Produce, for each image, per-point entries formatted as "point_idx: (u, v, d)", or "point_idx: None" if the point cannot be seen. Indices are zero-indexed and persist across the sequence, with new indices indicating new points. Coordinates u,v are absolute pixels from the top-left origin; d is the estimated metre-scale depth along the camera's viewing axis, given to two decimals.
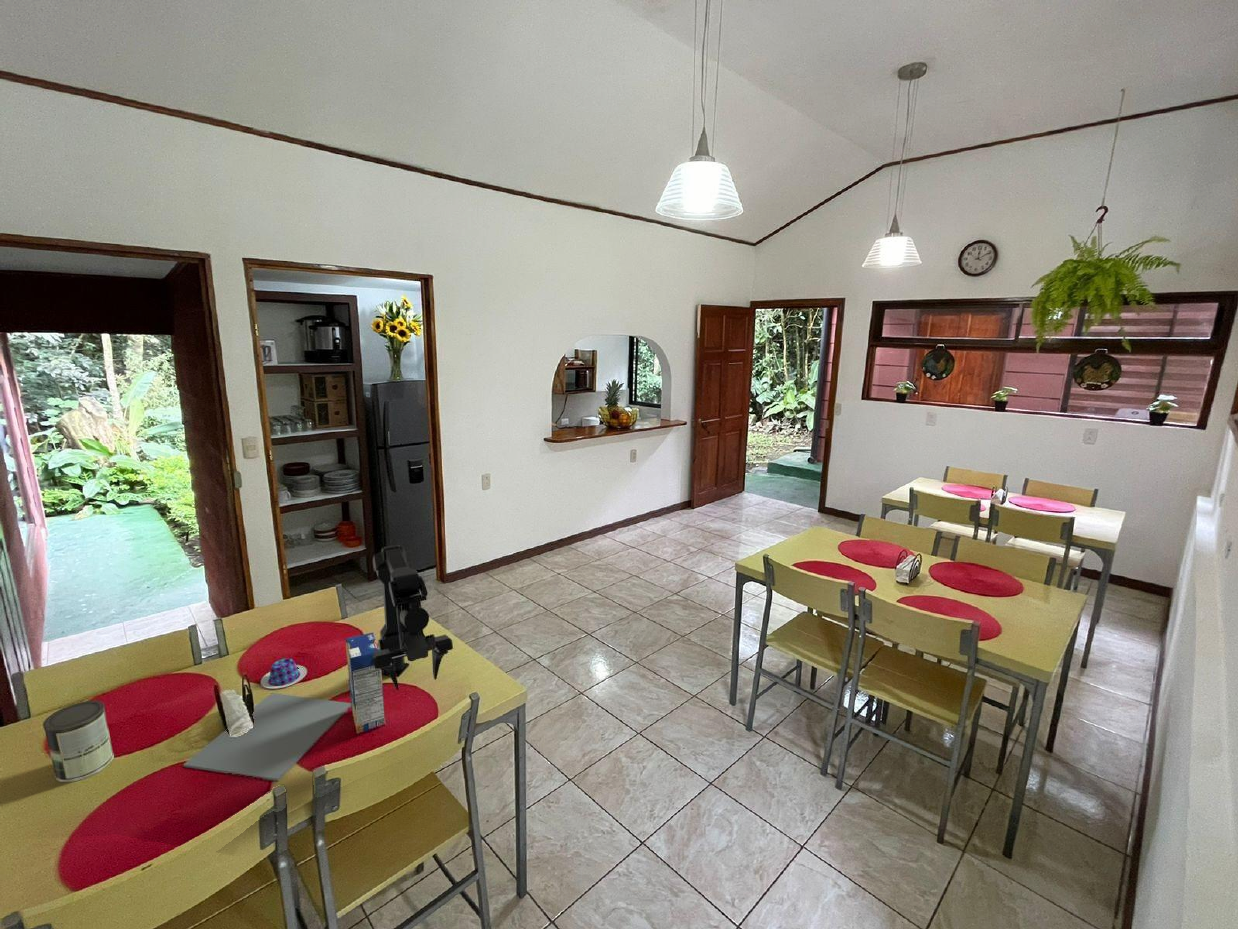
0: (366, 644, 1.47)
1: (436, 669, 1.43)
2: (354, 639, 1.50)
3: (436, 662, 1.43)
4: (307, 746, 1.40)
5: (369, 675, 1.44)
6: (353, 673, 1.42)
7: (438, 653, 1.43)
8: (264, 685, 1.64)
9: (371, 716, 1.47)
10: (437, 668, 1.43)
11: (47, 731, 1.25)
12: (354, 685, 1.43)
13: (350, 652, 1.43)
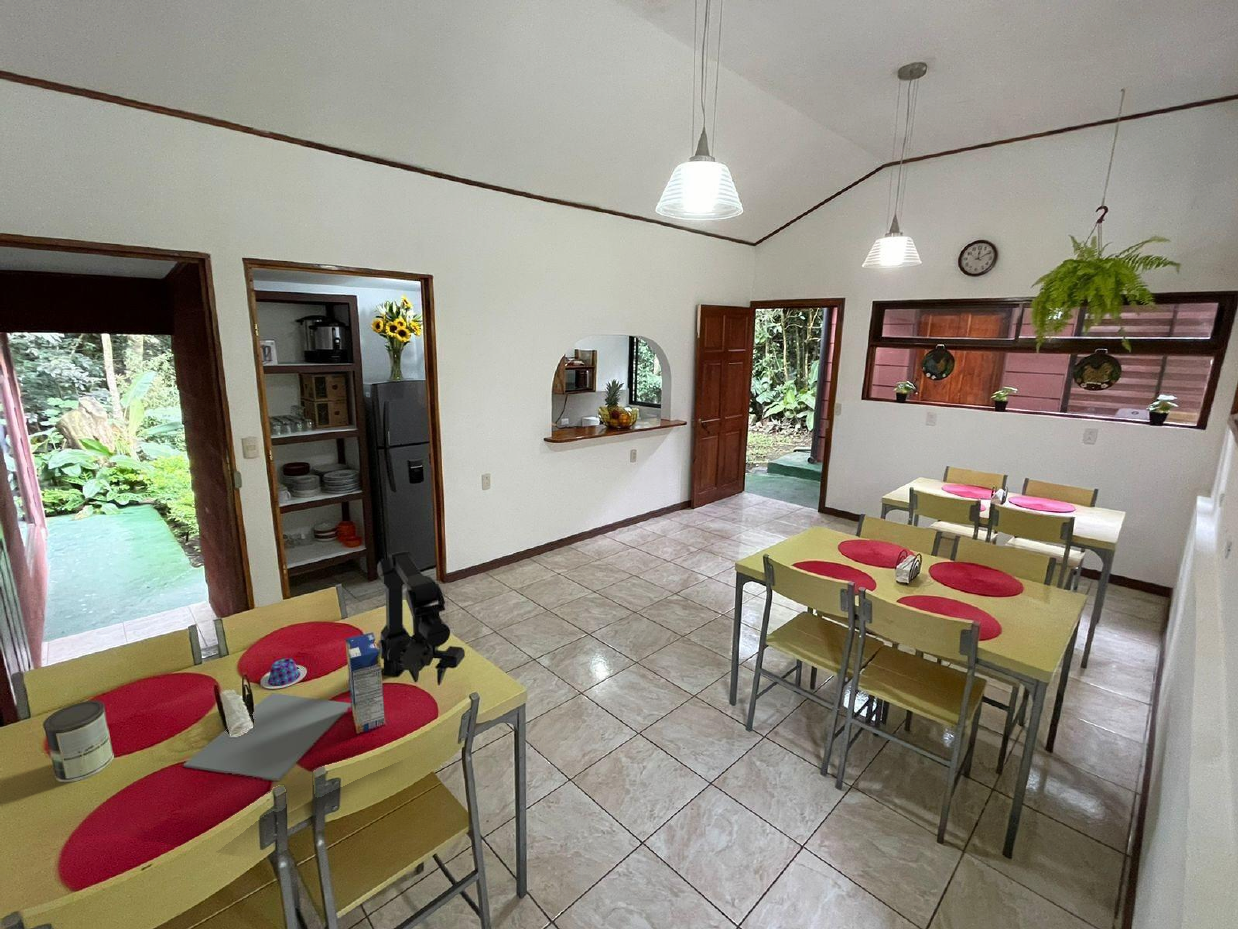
0: (366, 644, 1.47)
1: (438, 677, 1.44)
2: (354, 639, 1.50)
3: (438, 672, 1.43)
4: (307, 746, 1.40)
5: (369, 675, 1.44)
6: (353, 673, 1.42)
7: (438, 665, 1.42)
8: (264, 685, 1.64)
9: (371, 716, 1.47)
10: (439, 677, 1.44)
11: (47, 731, 1.25)
12: (354, 685, 1.43)
13: (350, 652, 1.43)
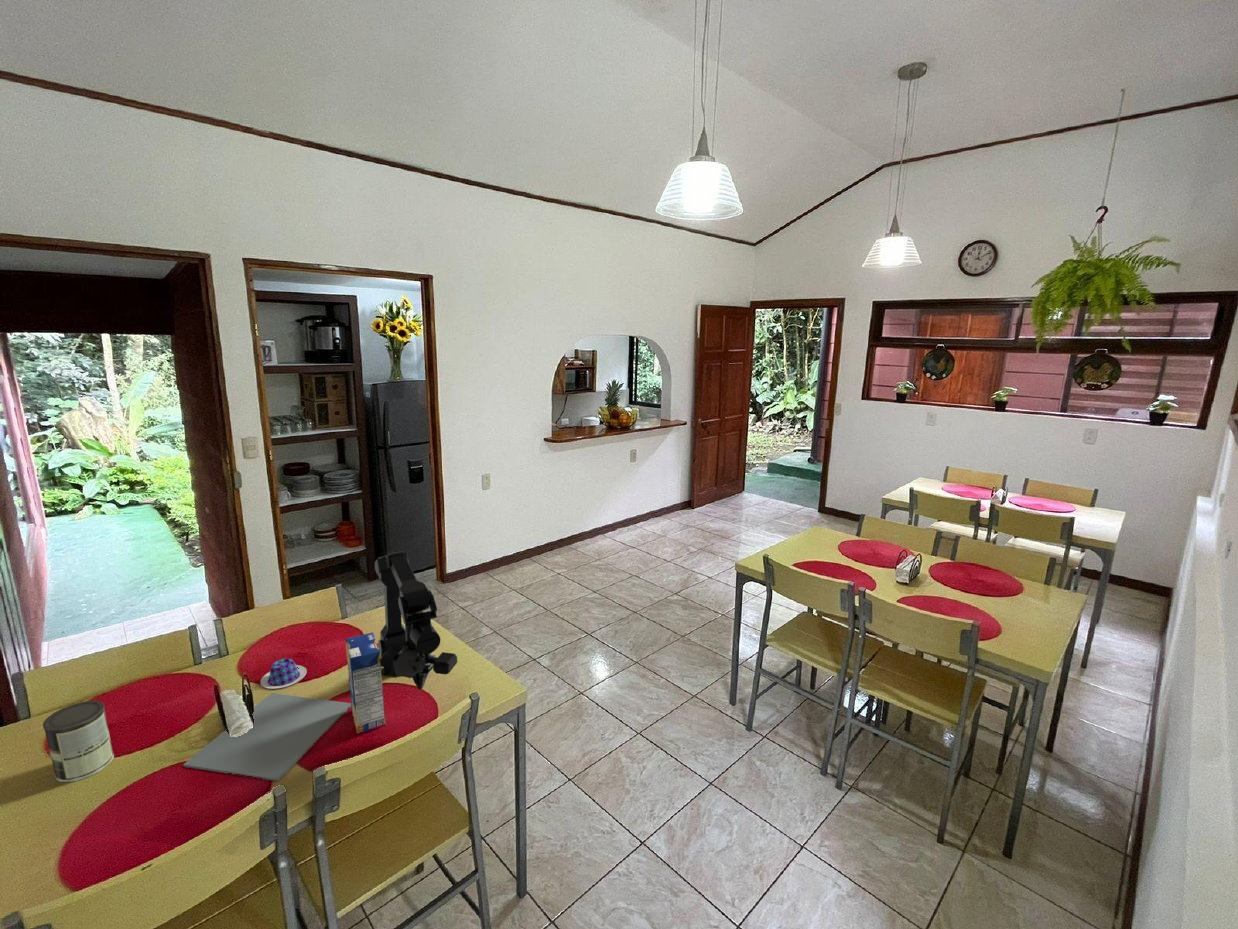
0: (366, 644, 1.47)
1: (420, 682, 1.45)
2: (354, 639, 1.50)
3: (419, 676, 1.45)
4: (307, 746, 1.40)
5: (369, 675, 1.44)
6: (353, 673, 1.42)
7: None
8: (264, 685, 1.64)
9: (371, 716, 1.47)
10: (421, 681, 1.45)
11: (47, 731, 1.25)
12: (354, 685, 1.43)
13: (350, 652, 1.43)
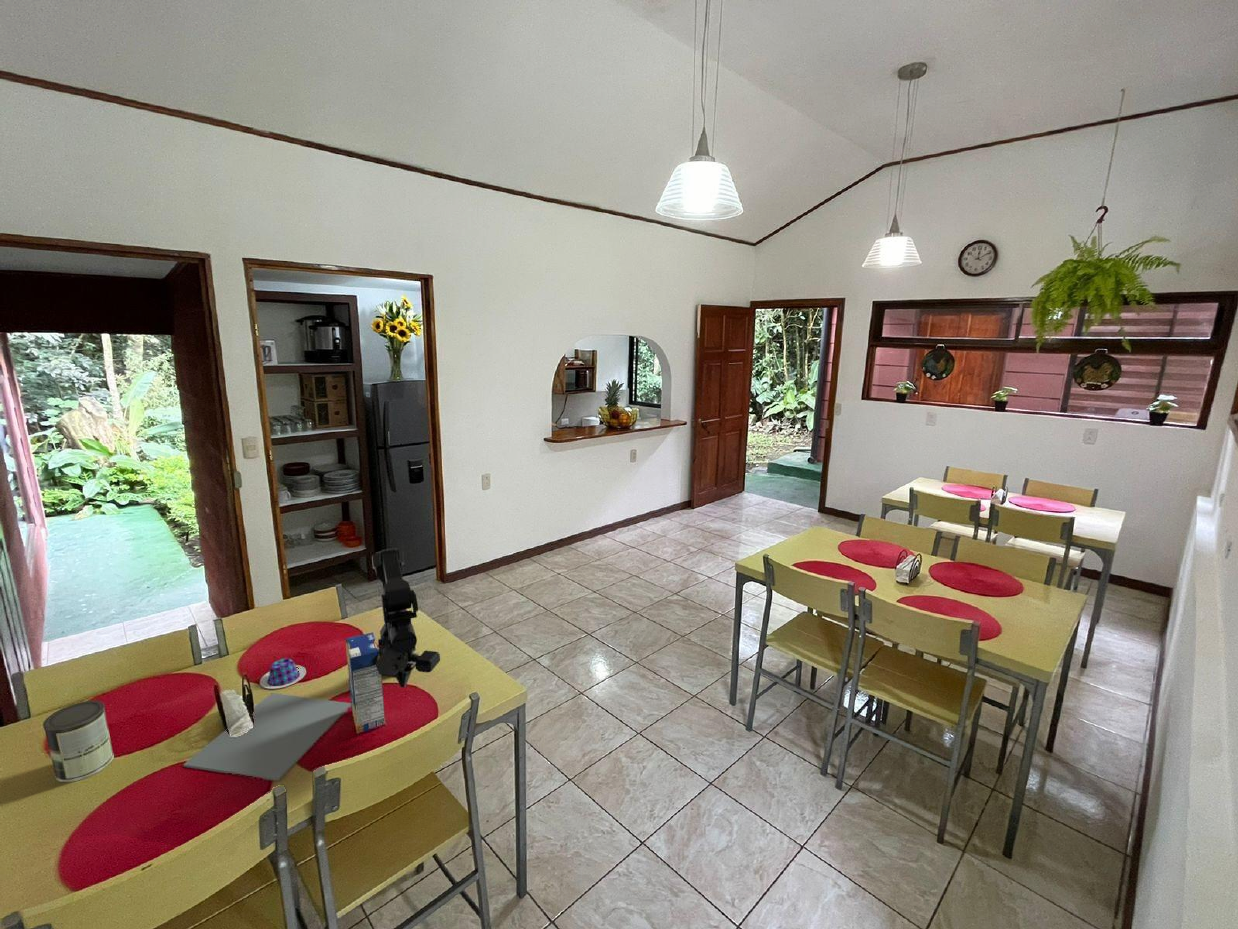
0: (366, 644, 1.47)
1: (403, 680, 1.46)
2: (354, 639, 1.50)
3: (402, 674, 1.45)
4: (307, 746, 1.40)
5: (369, 675, 1.44)
6: (353, 673, 1.42)
7: None
8: (263, 685, 1.64)
9: (371, 716, 1.47)
10: (404, 679, 1.46)
11: (47, 731, 1.25)
12: (354, 685, 1.43)
13: (350, 652, 1.43)
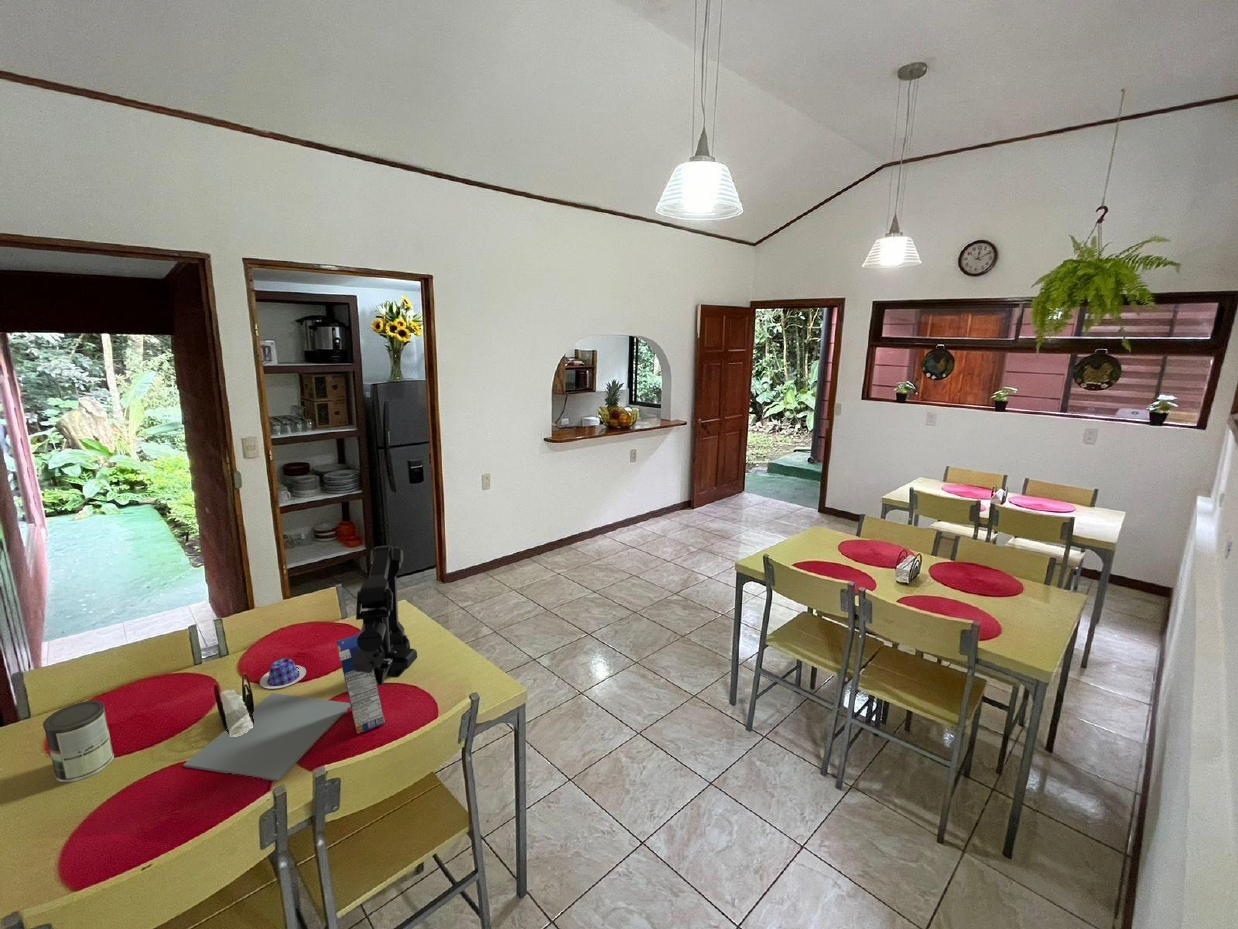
0: (356, 645, 1.46)
1: (380, 677, 1.47)
2: (345, 641, 1.48)
3: (379, 671, 1.46)
4: (307, 746, 1.40)
5: (362, 676, 1.43)
6: (345, 675, 1.41)
7: None
8: (263, 685, 1.64)
9: (370, 716, 1.46)
10: (381, 677, 1.47)
11: (47, 731, 1.25)
12: (348, 687, 1.42)
13: (340, 655, 1.42)
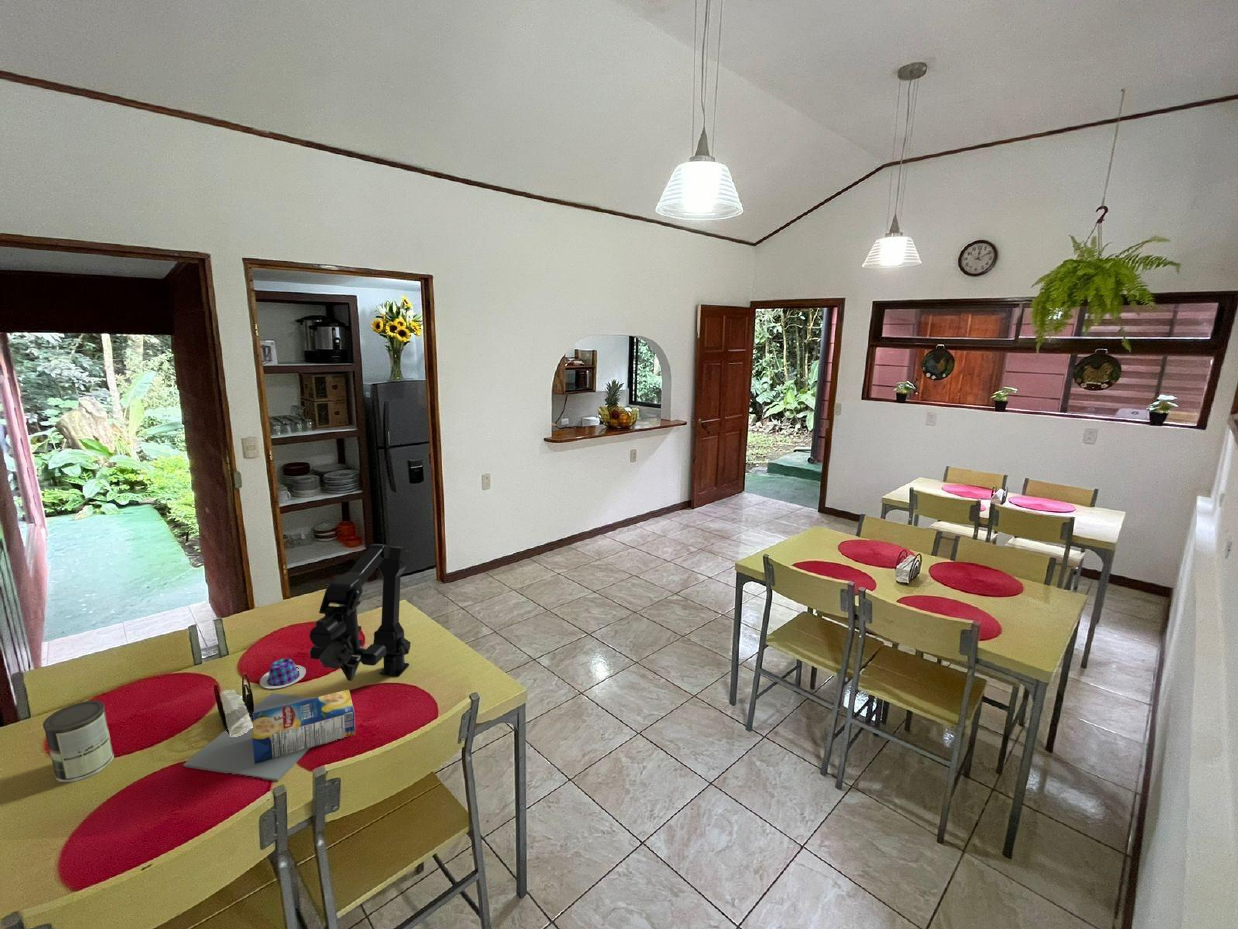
0: None
1: (349, 673, 1.48)
2: None
3: (348, 668, 1.48)
4: None
5: (283, 741, 1.36)
6: (275, 756, 1.36)
7: (347, 662, 1.46)
8: (263, 685, 1.64)
9: (338, 727, 1.43)
10: (350, 673, 1.48)
11: (47, 731, 1.25)
12: None
13: None
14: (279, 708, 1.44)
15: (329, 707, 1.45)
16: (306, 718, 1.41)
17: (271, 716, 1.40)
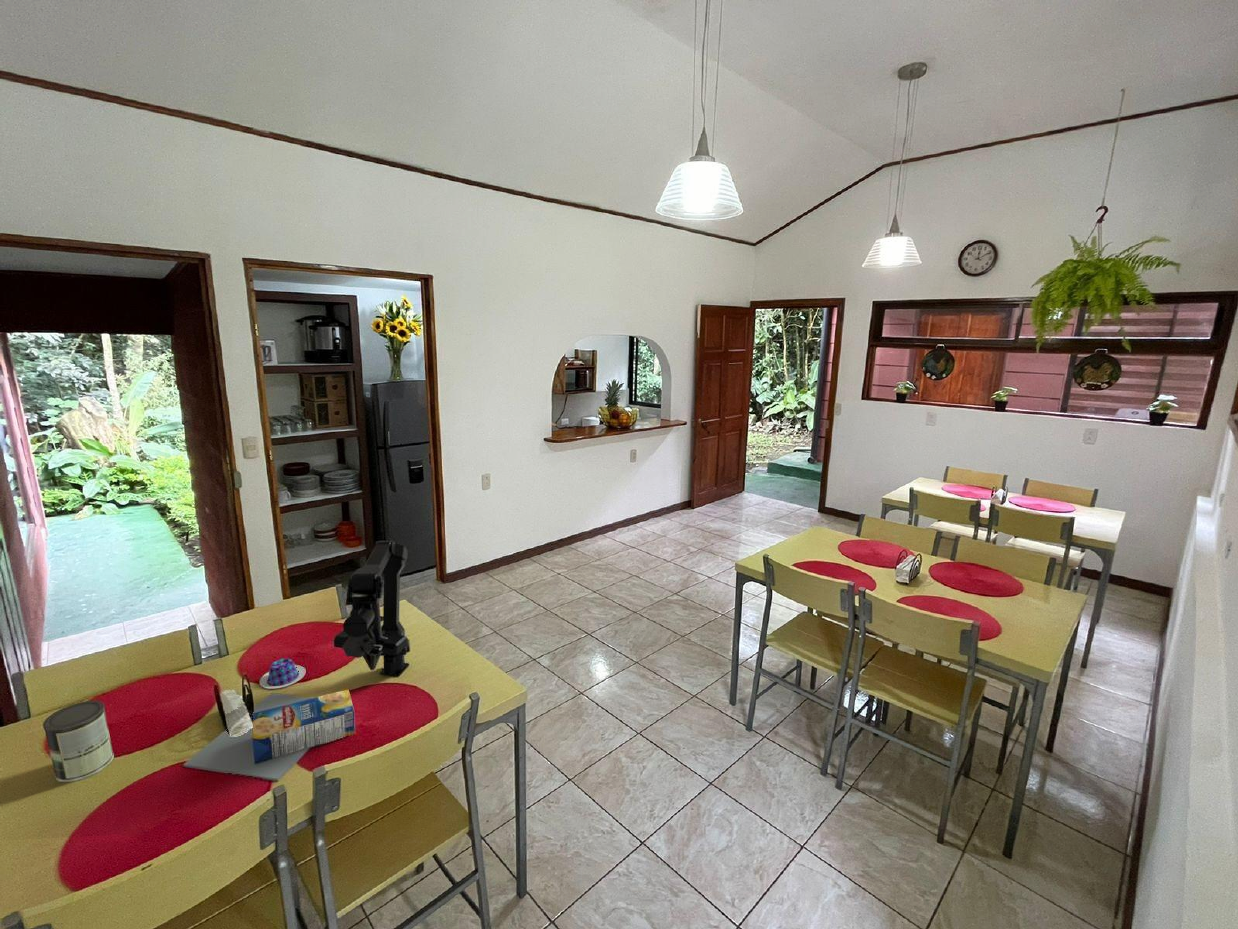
0: None
1: (371, 662, 1.50)
2: None
3: (370, 657, 1.49)
4: None
5: (283, 741, 1.36)
6: (275, 756, 1.36)
7: (370, 651, 1.48)
8: (263, 685, 1.64)
9: (338, 726, 1.43)
10: (372, 662, 1.50)
11: (47, 731, 1.25)
12: None
13: None
14: (279, 708, 1.44)
15: (328, 707, 1.45)
16: (306, 718, 1.41)
17: (270, 716, 1.40)
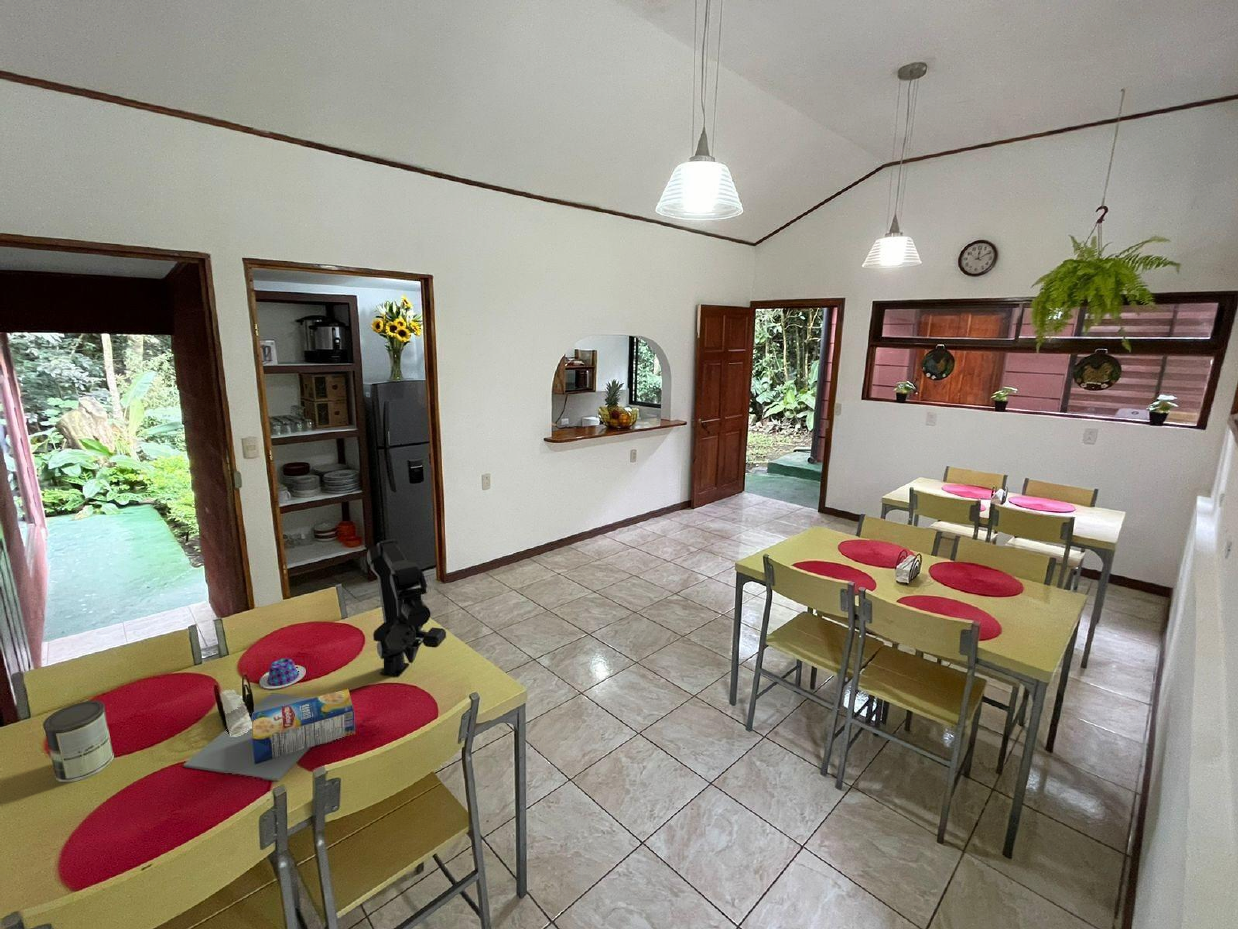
0: None
1: (411, 655, 1.54)
2: None
3: (410, 650, 1.53)
4: None
5: (283, 741, 1.36)
6: (275, 756, 1.36)
7: None
8: (262, 685, 1.64)
9: (338, 726, 1.43)
10: (411, 655, 1.54)
11: (47, 731, 1.25)
12: None
13: None
14: (278, 708, 1.44)
15: (328, 707, 1.45)
16: (305, 717, 1.41)
17: (270, 716, 1.40)
